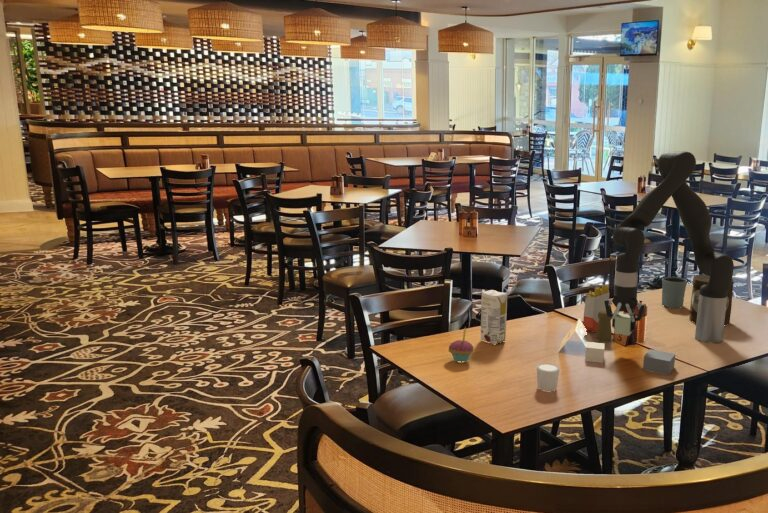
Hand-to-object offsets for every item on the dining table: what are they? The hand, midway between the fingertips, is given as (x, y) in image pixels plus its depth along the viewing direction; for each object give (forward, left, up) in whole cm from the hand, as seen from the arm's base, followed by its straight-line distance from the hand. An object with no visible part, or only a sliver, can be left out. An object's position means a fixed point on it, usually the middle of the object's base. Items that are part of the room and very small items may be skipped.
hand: (623, 329), depth 226 cm
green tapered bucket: (-72, +4, -9) cm, 72 cm away
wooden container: (-56, +21, -9) cm, 60 cm away
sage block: (0, 0, -1) cm, 1 cm away
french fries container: (-20, -15, -9) cm, 27 cm away
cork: (-11, -9, -9) cm, 17 cm away
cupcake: (+38, -44, -9) cm, 59 cm away
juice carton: (+14, -43, -9) cm, 46 cm away
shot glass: (+44, -11, -9) cm, 46 cm away
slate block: (+9, +14, -9) cm, 19 cm away
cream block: (+11, -6, -9) cm, 16 cm away
